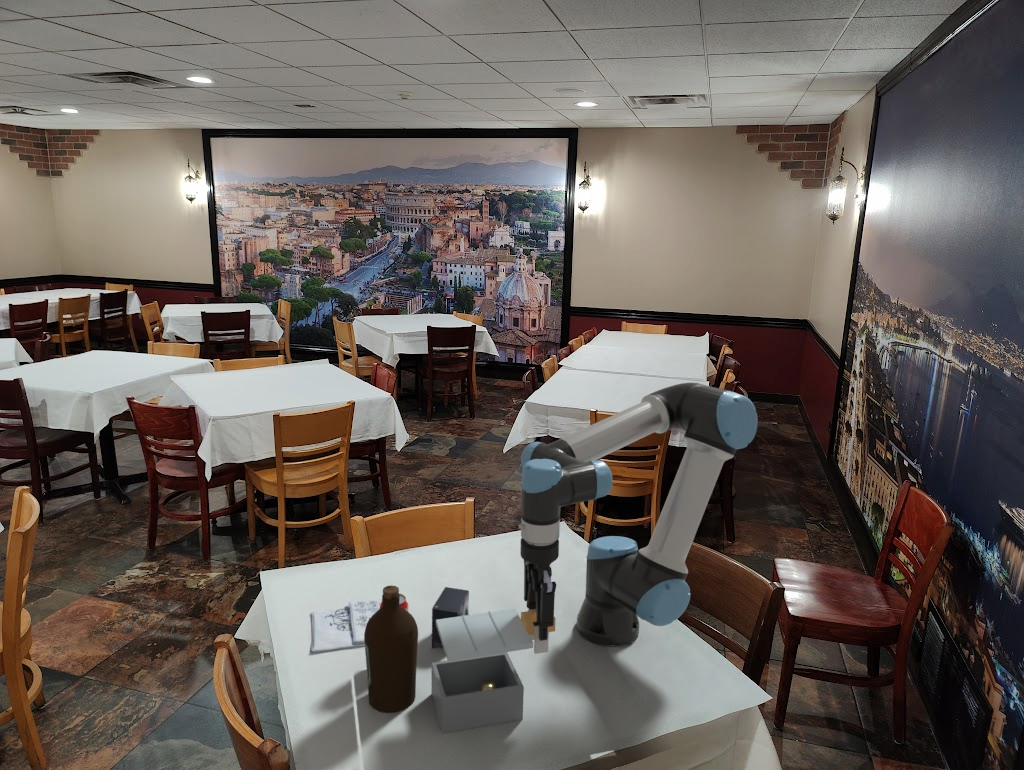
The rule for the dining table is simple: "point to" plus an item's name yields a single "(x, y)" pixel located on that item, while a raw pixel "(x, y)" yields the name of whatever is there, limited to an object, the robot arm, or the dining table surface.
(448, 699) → the tub
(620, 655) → the dining table surface
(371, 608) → the white printed cloths
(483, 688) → the part
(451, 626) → the lid
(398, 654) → the brown tall rounded piece
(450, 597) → the small box
